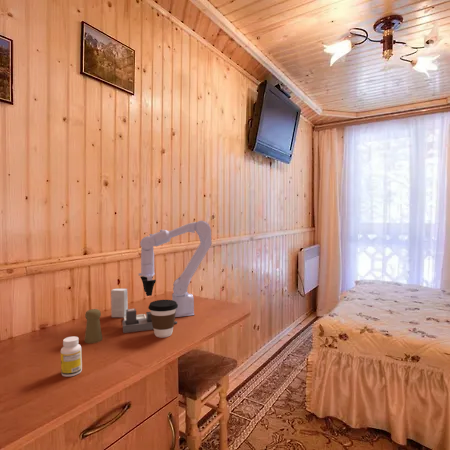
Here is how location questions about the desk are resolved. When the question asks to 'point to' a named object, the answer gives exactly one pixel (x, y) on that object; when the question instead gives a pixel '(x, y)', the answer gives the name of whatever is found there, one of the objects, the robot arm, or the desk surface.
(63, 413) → the desk surface
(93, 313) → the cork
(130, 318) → the plug
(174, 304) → the coffee cup
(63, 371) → the supplement bottle
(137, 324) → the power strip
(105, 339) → the desk surface
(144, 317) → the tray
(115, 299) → the skincare box
